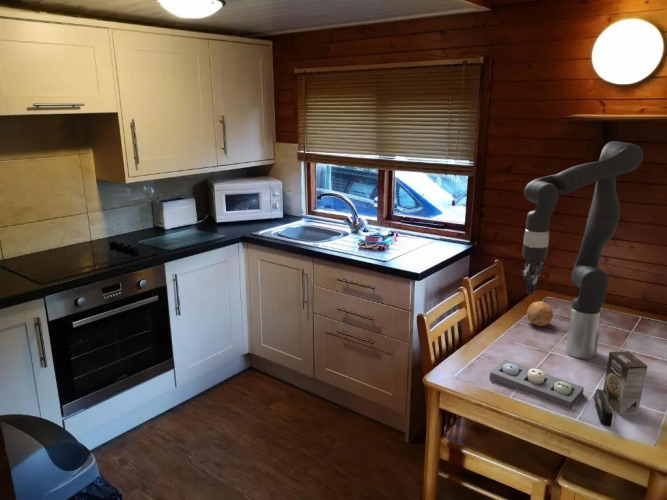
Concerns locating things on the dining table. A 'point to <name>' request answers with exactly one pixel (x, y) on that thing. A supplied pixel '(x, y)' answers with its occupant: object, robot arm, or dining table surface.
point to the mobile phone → (603, 408)
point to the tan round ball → (539, 313)
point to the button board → (537, 386)
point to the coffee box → (624, 382)
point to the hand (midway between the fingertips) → (530, 293)
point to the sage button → (563, 388)
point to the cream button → (536, 376)
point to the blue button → (510, 369)
